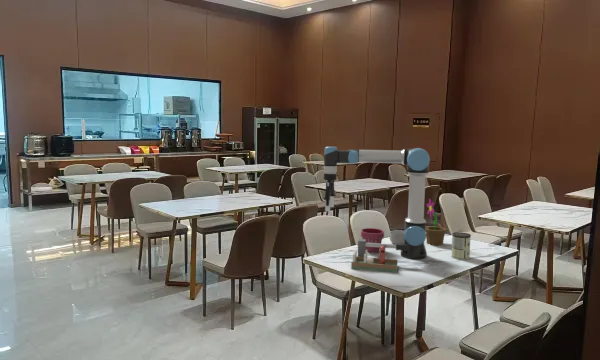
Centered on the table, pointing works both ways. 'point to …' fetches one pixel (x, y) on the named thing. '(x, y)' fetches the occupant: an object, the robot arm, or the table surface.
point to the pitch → (362, 263)
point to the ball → (370, 260)
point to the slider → (382, 249)
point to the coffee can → (460, 245)
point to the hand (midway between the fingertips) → (329, 209)
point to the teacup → (397, 236)
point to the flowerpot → (434, 229)
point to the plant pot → (372, 238)
